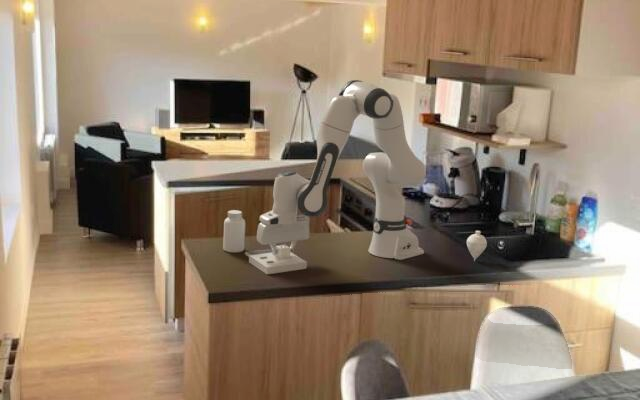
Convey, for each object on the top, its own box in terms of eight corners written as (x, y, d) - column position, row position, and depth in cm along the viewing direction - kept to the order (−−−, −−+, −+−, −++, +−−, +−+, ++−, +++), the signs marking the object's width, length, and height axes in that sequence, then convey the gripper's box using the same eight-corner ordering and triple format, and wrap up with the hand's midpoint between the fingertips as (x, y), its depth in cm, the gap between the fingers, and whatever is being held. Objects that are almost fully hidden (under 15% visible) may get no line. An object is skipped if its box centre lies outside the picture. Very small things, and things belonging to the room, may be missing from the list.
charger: (284, 260, 249) (285, 241, 247) (289, 263, 246) (290, 244, 244) (274, 261, 247) (275, 242, 245) (280, 265, 244) (281, 246, 242)
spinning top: (474, 265, 257) (478, 234, 255) (460, 259, 263) (463, 229, 261) (488, 262, 261) (492, 232, 259) (474, 256, 268) (477, 227, 265)
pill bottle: (229, 254, 252) (230, 215, 248) (219, 248, 258) (220, 210, 255) (248, 251, 256) (249, 213, 253) (237, 245, 263) (238, 208, 259)
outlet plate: (287, 256, 253) (287, 249, 252) (306, 268, 241) (307, 261, 241) (248, 262, 244) (249, 254, 244) (266, 274, 233) (267, 266, 232)
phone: (275, 251, 260) (275, 248, 259) (284, 257, 254) (284, 253, 254) (244, 255, 253) (244, 251, 252) (253, 261, 247) (253, 257, 247)
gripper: (304, 211, 250) (302, 247, 253) (255, 216, 239) (253, 253, 243) (313, 216, 245) (311, 252, 248) (263, 221, 234) (262, 259, 237)
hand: (282, 253), depth 245 cm, fingers open, 5 cm apart
